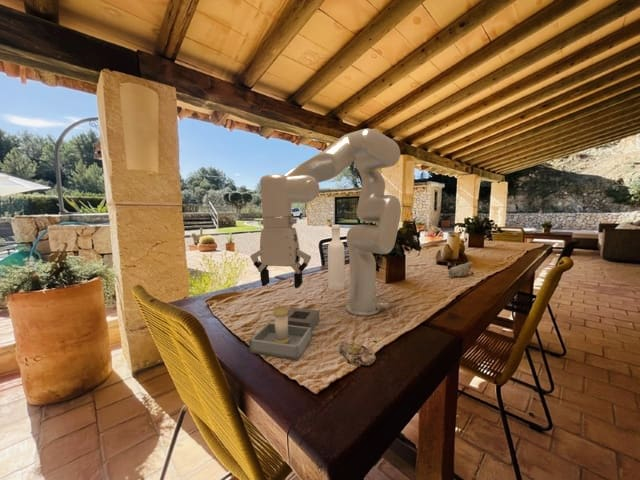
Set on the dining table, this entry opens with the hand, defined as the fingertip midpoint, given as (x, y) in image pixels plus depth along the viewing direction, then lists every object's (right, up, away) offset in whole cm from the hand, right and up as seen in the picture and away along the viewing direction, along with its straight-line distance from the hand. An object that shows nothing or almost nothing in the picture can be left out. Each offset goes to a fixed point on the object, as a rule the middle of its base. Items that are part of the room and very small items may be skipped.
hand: (281, 285), depth 70 cm
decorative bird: (+86, -7, +67) cm, 109 cm away
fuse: (0, -16, +2) cm, 16 cm away
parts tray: (0, -17, +2) cm, 17 cm away
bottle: (+18, -11, +51) cm, 55 cm away
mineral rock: (+20, -18, -4) cm, 27 cm away
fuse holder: (+4, -15, +14) cm, 21 cm away
